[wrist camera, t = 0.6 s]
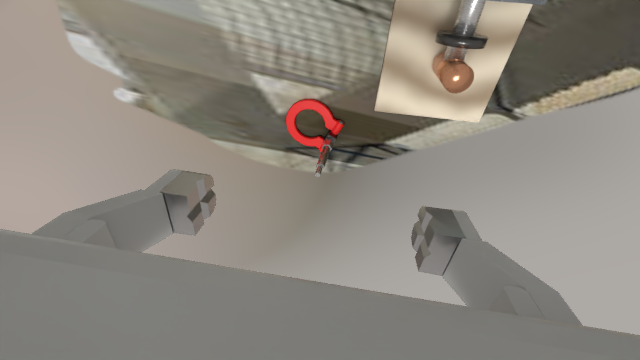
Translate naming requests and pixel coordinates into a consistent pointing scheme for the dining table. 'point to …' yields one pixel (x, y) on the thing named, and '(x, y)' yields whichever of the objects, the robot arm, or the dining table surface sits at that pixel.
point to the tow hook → (319, 142)
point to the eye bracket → (523, 1)
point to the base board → (421, 49)
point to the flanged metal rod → (459, 47)
